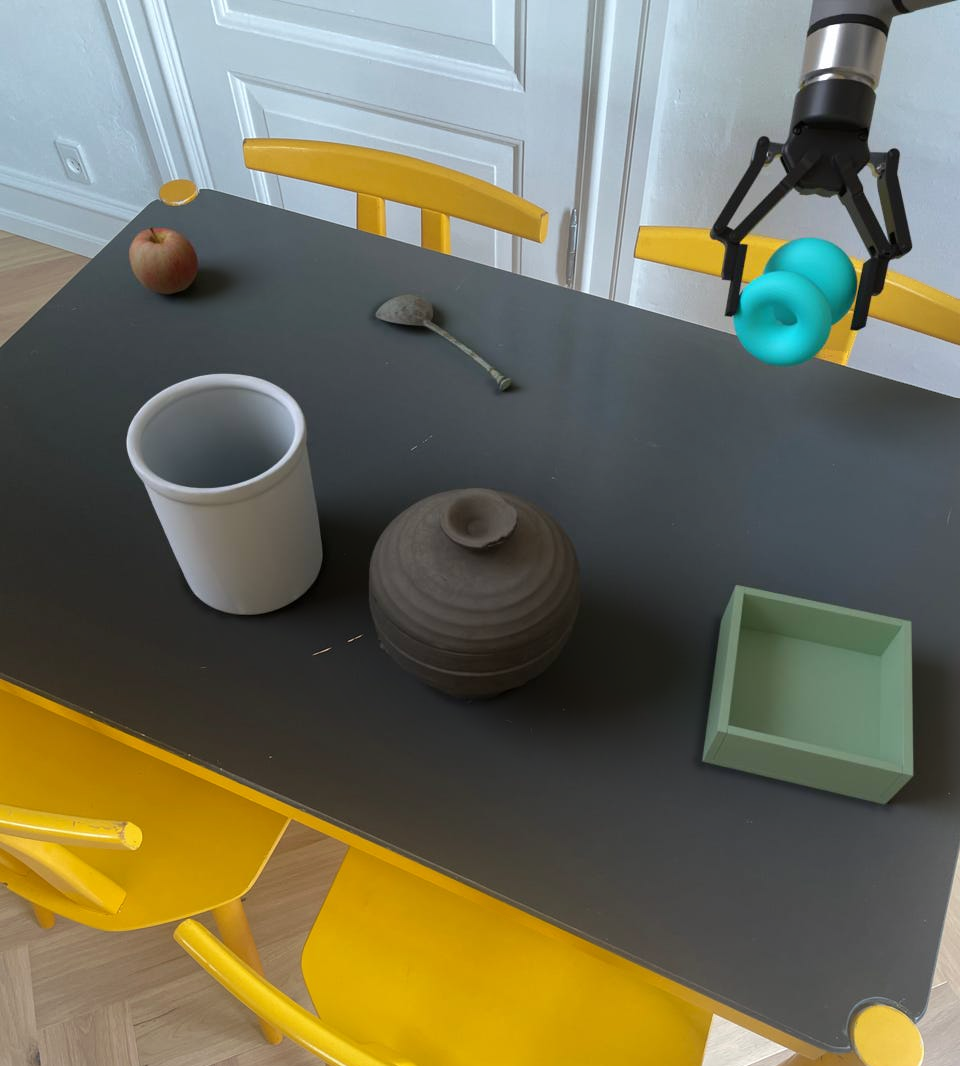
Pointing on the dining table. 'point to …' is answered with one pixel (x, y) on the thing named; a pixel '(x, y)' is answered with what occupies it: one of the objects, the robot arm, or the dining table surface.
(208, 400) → the utensil holder
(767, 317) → the donuts
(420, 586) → the pot
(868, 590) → the dining table surface
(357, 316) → the dining table surface
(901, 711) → the bin
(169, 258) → the apple
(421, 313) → the soupspoon
